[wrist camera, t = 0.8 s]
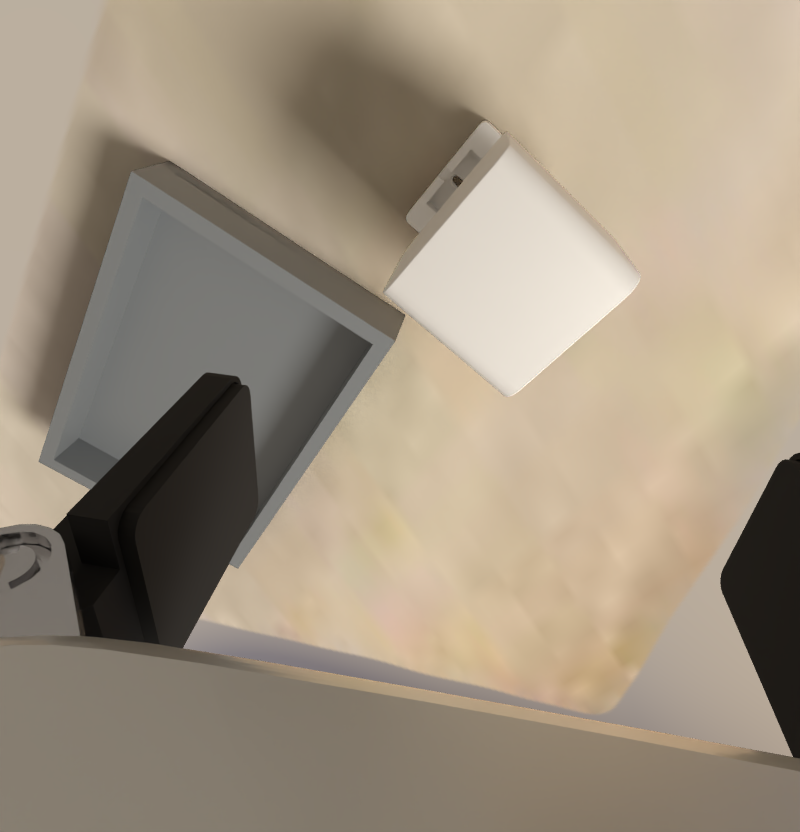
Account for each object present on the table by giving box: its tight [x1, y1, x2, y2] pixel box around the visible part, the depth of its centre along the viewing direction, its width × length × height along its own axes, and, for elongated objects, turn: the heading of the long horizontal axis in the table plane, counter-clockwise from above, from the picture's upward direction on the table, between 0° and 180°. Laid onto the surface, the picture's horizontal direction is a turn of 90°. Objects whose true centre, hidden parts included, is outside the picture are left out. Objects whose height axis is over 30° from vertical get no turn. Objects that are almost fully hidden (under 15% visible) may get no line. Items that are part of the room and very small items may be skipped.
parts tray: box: [39, 161, 405, 568], centre depth 33 cm, size 20×14×4 cm
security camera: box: [383, 120, 641, 397], centre depth 23 cm, size 6×7×10 cm
